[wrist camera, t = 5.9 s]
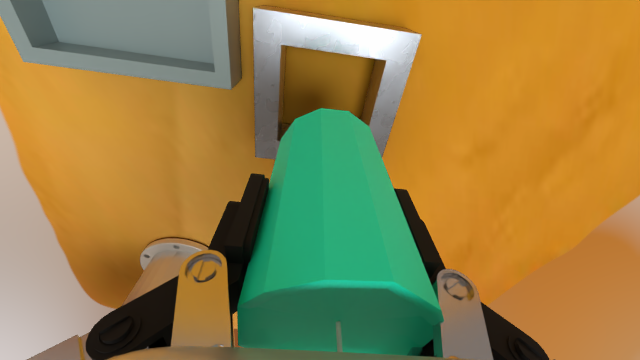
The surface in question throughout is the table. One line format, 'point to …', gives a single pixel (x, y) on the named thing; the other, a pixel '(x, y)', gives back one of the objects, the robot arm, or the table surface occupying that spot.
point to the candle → (334, 250)
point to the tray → (131, 37)
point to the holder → (332, 36)
